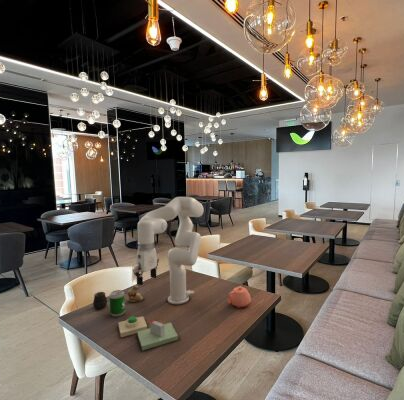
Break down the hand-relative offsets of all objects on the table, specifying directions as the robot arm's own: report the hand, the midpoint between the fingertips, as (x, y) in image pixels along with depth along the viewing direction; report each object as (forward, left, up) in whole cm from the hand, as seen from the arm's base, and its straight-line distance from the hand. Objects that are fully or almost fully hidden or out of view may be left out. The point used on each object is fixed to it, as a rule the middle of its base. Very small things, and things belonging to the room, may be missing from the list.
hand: (146, 280), depth 128 cm
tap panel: (-2, +10, -24) cm, 26 cm away
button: (+7, -3, -20) cm, 22 cm away
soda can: (+12, -21, -24) cm, 34 cm away
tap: (-2, +10, -22) cm, 24 cm away
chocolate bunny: (+1, -32, -24) cm, 40 cm away
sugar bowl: (-51, +1, -24) cm, 56 cm away
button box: (+7, -3, -24) cm, 25 cm away
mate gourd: (+20, -33, -24) cm, 45 cm away
